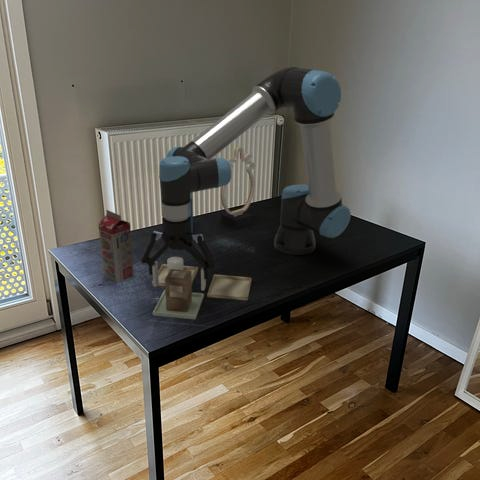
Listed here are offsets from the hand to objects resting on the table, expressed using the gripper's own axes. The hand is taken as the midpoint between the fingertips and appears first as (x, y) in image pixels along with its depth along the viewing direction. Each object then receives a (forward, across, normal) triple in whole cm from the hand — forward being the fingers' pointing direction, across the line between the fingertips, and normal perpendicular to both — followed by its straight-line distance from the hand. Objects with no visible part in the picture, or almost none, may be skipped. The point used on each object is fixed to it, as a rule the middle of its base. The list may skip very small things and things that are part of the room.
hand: (179, 286), depth 134 cm
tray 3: (+7, -13, -12) cm, 19 cm away
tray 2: (+7, 0, 0) cm, 7 cm away
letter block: (+6, 0, 0) cm, 6 cm away
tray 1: (+7, +5, -16) cm, 18 cm away
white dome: (+6, +5, -16) cm, 18 cm away
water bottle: (+7, +12, -53) cm, 55 cm away
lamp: (+8, -8, -65) cm, 66 cm away
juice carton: (+7, +23, -14) cm, 28 cm away
